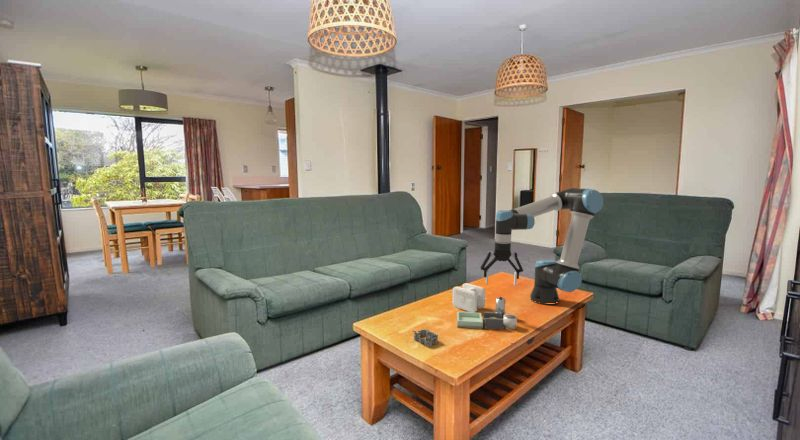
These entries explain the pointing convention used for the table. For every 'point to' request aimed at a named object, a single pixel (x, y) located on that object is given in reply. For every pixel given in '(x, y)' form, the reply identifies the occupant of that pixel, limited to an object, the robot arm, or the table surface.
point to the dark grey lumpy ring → (429, 335)
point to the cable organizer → (468, 297)
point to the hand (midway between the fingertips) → (500, 284)
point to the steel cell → (500, 306)
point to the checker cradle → (493, 320)
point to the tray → (469, 320)
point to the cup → (509, 321)
